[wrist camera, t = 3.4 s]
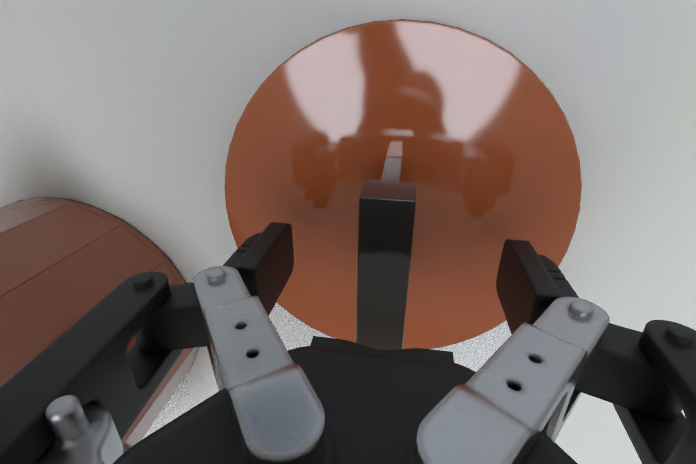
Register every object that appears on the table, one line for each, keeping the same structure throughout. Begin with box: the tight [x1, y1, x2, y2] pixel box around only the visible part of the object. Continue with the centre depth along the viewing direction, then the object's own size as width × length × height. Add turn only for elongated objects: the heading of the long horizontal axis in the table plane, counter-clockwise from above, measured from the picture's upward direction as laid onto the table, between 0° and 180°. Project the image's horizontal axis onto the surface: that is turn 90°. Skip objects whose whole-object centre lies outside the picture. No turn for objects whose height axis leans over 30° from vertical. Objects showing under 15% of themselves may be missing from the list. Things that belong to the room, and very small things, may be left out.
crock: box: [0, 198, 199, 453], centre depth 19 cm, size 15×20×10 cm
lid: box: [225, 19, 581, 350], centre depth 15 cm, size 16×16×6 cm
